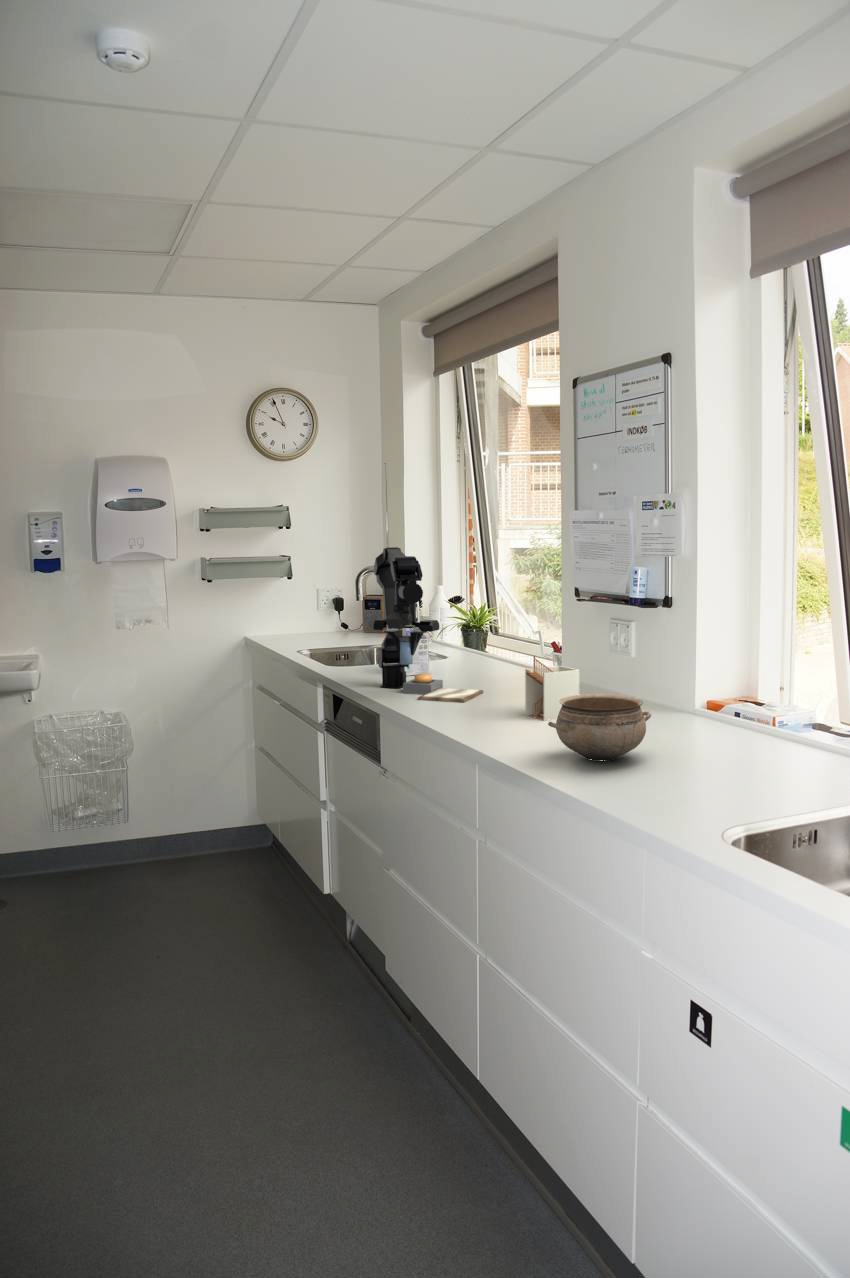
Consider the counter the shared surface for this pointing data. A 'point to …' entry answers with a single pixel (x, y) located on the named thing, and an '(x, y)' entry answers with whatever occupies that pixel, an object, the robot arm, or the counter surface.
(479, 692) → the board
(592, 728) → the cooking pot
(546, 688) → the model staircase
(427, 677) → the button
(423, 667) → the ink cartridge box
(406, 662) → the blue tumbler
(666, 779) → the counter surface
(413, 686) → the button housing
